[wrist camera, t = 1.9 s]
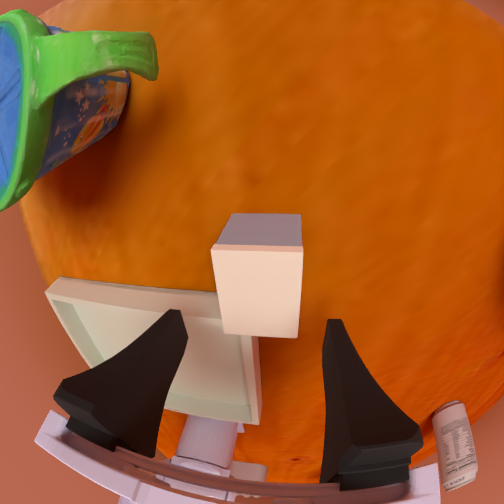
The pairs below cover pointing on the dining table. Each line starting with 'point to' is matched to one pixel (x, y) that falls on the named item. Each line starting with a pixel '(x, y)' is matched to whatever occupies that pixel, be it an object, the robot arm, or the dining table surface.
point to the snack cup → (60, 93)
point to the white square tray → (196, 353)
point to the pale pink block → (259, 274)
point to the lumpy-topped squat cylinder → (248, 472)
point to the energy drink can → (454, 445)
